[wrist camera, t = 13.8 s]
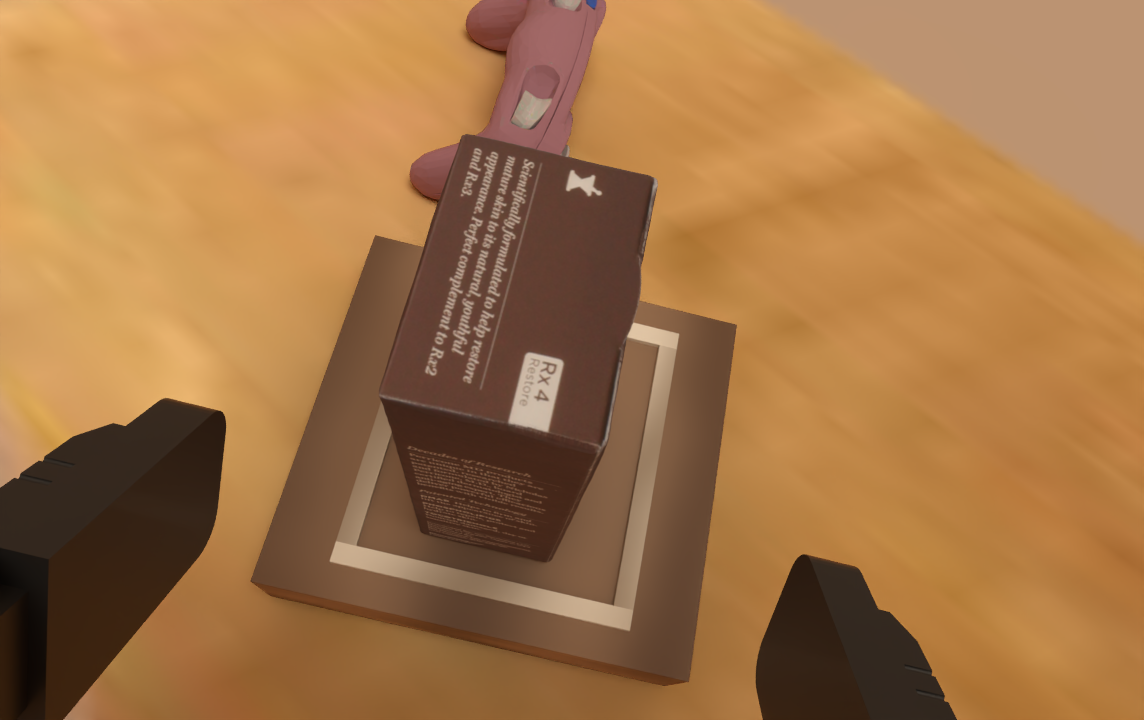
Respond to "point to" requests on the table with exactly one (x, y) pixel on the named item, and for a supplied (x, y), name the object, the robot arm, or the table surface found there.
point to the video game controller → (526, 76)
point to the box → (515, 343)
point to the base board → (496, 579)
